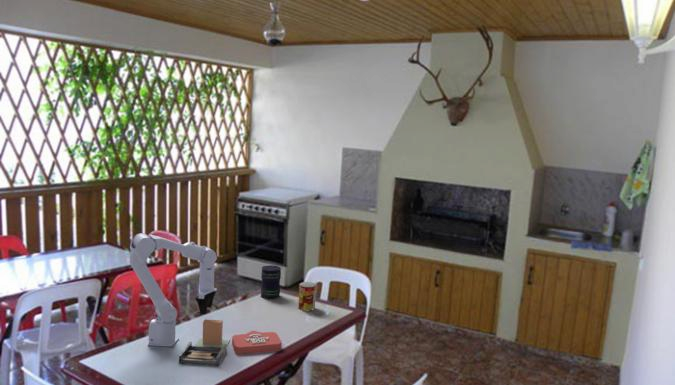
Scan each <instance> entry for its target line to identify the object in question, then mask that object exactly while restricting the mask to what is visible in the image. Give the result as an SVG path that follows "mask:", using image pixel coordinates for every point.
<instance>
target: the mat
mask: <svg viewBox="0 0 675 385" xmlns="http://www.w3.org/2000/svg"><path fill="white" fill-rule="evenodd" d="M230 342H231V340H229V339H222V344H221V345H208V344H203V337H201V338H199V340H197V342H196V343H195V344H194V346H207V347H223V345H224V344H226V348H228V345H229V343H230Z"/></svg>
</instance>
